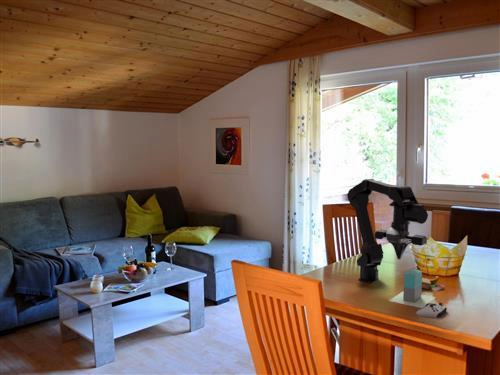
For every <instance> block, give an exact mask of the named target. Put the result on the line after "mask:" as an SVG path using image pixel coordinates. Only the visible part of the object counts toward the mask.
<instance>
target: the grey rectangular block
mask: <svg viewBox="0 0 500 375" xmlns="http://www.w3.org/2000/svg"><path fill="white" fill-rule="evenodd" d="M403 291H404V294H403V301H408V302H413V303H415V302H416V301H418V300H419V299H420V298H421V295H422V293H423V291H422V284H421V285H420V286H419V287H417V288H416V289H412V288H407V287H404V286H403Z"/></svg>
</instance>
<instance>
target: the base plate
mask: <svg viewBox="0 0 500 375" xmlns="http://www.w3.org/2000/svg"><path fill="white" fill-rule="evenodd" d="M403 294H404V290H403V291H401V292H400V293H399V294H397V295H395V296H394V297H392V298H390V299H389V300H388V301H389V302H393V303H397V304H402V305H406V306H409V307H416V308H419V309H422V308H424V307H426V304H427V303H432V301H433V300H435V299H436V296H430V295H427V294H426V295H425V294H421V298H420V299H419V300H418V301H416V302H415V303H413V302H408V301H403Z"/></svg>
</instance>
